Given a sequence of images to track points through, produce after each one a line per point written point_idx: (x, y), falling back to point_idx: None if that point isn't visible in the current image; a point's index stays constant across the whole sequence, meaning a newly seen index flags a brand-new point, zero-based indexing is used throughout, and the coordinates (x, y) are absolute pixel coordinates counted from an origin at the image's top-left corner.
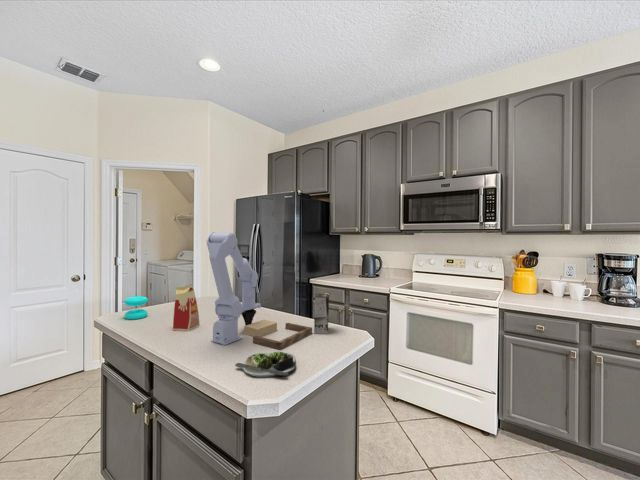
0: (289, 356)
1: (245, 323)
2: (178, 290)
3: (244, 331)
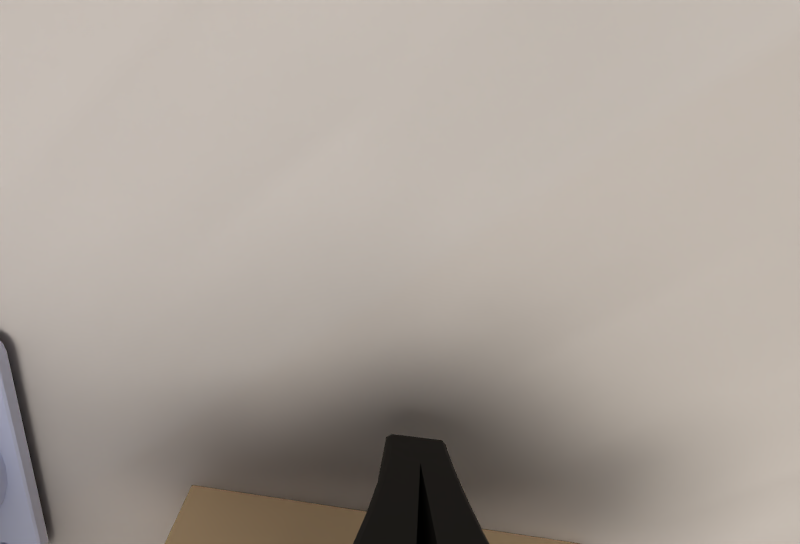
0: None
1: (379, 482)
2: None
3: (172, 528)
